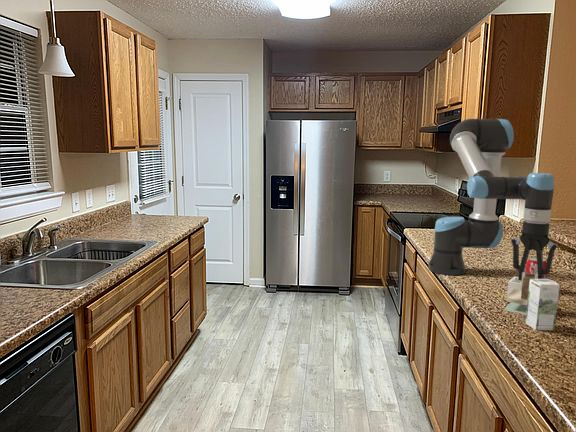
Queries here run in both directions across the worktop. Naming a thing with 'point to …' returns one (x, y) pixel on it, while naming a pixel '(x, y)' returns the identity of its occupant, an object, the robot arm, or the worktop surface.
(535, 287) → the syrup box
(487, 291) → the worktop surface
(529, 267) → the soda can
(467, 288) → the worktop surface
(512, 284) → the dish
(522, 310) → the mat
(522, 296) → the lid
